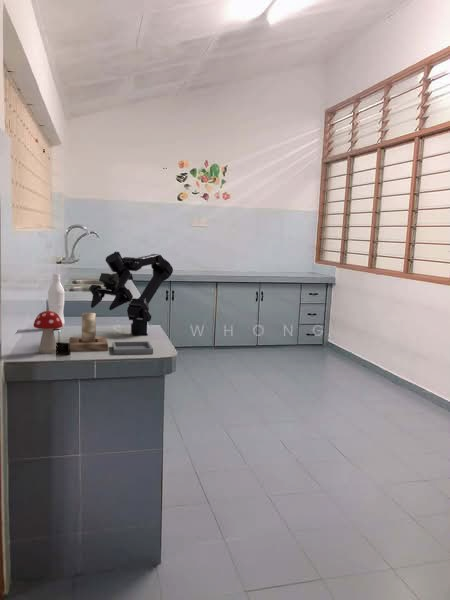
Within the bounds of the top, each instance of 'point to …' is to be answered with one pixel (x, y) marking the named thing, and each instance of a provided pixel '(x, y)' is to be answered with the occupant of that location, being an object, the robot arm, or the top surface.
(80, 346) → the holder
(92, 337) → the dowel
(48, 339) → the decorative mushroom
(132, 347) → the tray
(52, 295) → the water bottle
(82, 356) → the top surface
